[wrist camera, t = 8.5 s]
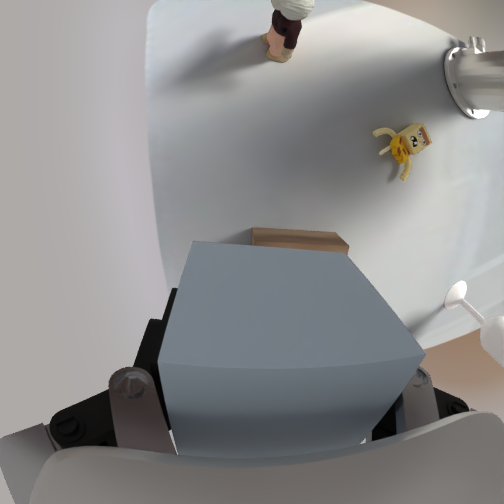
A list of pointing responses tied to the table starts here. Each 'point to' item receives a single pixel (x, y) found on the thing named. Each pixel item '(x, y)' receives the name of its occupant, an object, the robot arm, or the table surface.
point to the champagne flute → (492, 330)
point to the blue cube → (279, 353)
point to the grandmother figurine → (286, 27)
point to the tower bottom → (299, 240)
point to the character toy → (405, 144)
